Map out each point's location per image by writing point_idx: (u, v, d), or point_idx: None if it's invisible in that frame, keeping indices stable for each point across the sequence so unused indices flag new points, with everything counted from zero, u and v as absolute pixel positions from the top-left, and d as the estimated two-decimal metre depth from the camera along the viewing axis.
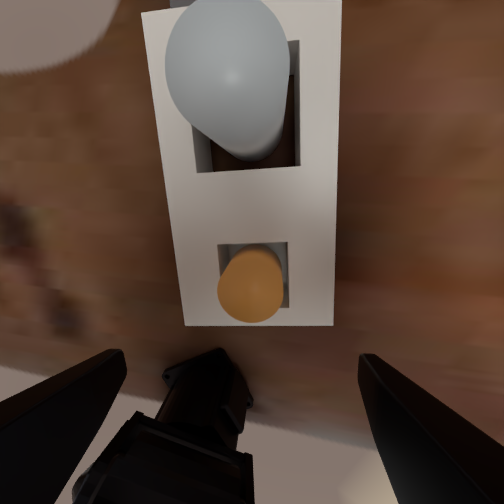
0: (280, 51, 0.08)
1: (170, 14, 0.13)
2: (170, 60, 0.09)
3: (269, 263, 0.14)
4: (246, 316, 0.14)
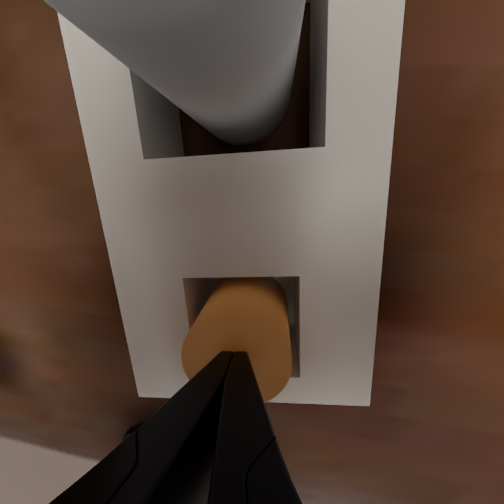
0: None
1: None
2: None
3: (268, 311, 0.08)
4: None
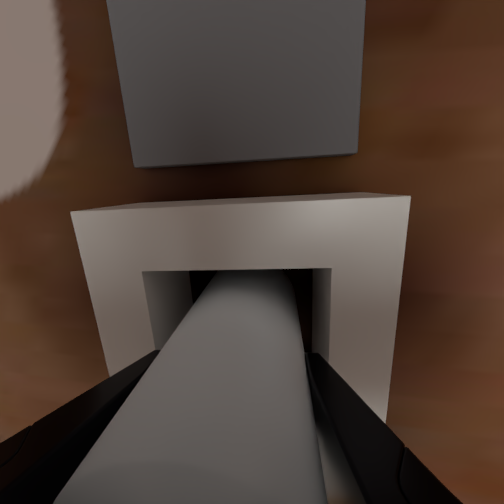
0: None
1: (117, 217, 0.08)
2: None
3: None
4: None
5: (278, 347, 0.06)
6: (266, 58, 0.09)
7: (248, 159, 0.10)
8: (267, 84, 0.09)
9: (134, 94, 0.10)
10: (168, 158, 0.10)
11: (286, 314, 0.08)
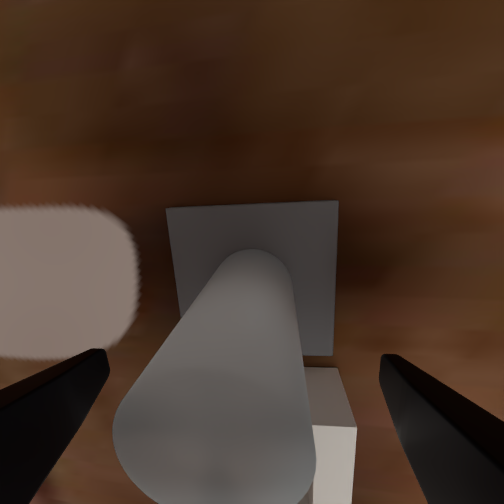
0: (301, 449, 0.05)
1: None
2: (121, 433, 0.05)
3: None
4: None
5: (276, 313, 0.08)
6: None
7: None
8: None
9: None
10: None
11: (283, 292, 0.10)
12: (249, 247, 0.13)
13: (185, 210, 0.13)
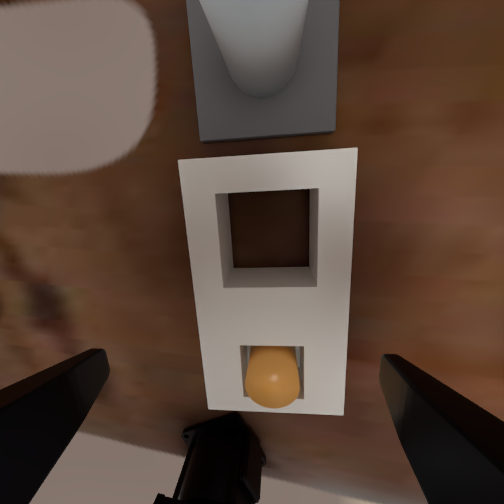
0: None
1: (204, 162, 0.14)
2: None
3: (288, 361, 0.16)
4: (269, 403, 0.17)
5: None
6: None
7: (270, 135, 0.16)
8: (282, 90, 0.16)
9: (203, 96, 0.16)
10: (221, 135, 0.17)
11: None
12: None
13: None
